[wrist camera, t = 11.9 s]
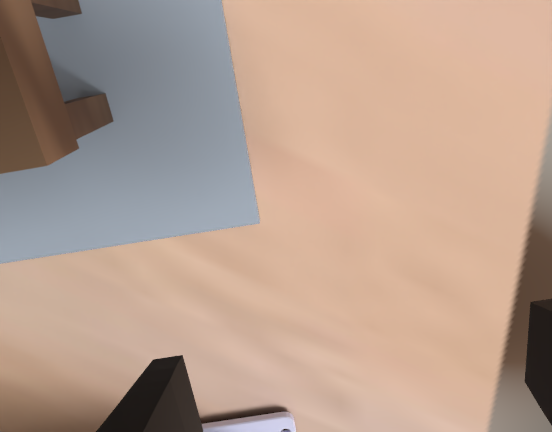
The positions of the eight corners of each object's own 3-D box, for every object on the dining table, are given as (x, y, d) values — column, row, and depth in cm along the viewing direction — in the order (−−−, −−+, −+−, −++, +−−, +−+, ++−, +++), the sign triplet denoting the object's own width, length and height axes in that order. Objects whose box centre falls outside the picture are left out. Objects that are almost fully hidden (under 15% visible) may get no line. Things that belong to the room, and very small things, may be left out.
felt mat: (259, 219, 18) (259, 223, 17) (-75, 271, 18) (-81, 276, 18) (183, -215, 13) (182, -224, 12) (-278, -139, 13) (-294, -145, 13)
